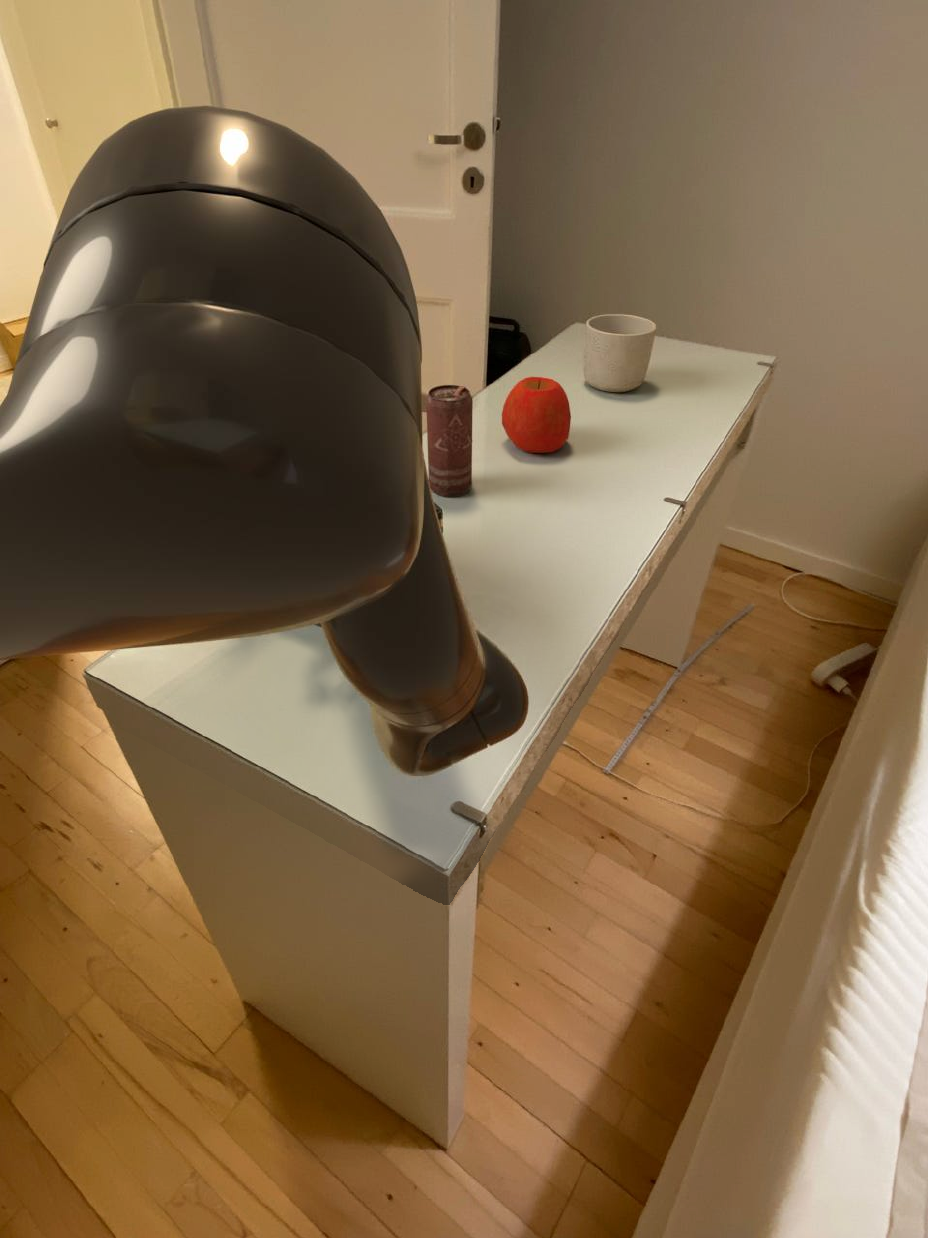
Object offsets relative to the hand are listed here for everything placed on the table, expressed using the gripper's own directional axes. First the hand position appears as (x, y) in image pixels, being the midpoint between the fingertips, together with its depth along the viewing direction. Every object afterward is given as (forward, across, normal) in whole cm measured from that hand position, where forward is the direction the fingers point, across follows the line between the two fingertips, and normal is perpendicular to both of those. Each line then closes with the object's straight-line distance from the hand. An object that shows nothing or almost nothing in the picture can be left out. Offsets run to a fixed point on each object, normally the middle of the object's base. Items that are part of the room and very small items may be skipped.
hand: (352, 485), depth 71 cm
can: (+20, -17, +13) cm, 29 cm away
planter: (+48, -58, +13) cm, 76 cm away
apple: (+29, -34, +13) cm, 46 cm away
